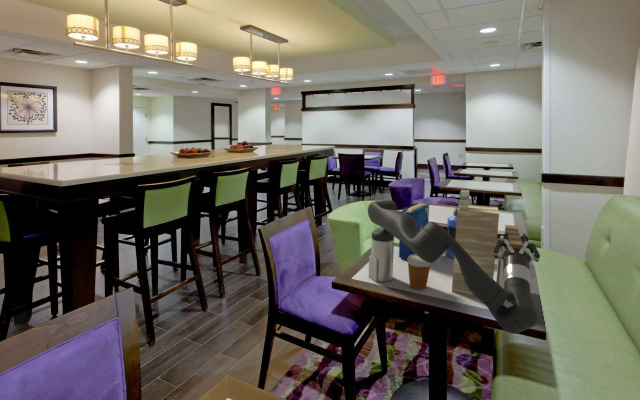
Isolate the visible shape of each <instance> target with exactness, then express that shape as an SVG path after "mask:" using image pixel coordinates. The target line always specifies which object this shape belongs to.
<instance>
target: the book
mask: <svg viewBox="0 0 640 400" xmlns="http://www.w3.org/2000/svg"><path fill="white" fill-rule="evenodd" d="M401 211H402V212H404V213H406V214H408V215H410V216H412V217H413V218H414V219H415V220H416V222H417V225H418V233H419V232H420V231H421V230H422V229H423V227H424V226H425V225H426V224H427V223H429V218H430V214H429V213H430V204H429V203H427V204H425V203H424V202H422V203H419V202H416V203H412V204H411V205H408V206H407V207H404V209H403V210H401ZM398 240H399V239H398ZM398 244H399V245H398V246H399V249H398V250H399V251H398V258H400V259H402V260H405V261H407V259H408V257H409V256H410V255H414V254H415V253H414V252H413V251H412V250H411V249H410V248H409V247H408V246H407V245H406V244H404V243H403V242H401V241H400V240H399V243H398Z"/></svg>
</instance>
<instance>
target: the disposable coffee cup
mask: <svg viewBox="0 0 640 400" xmlns="http://www.w3.org/2000/svg"><path fill="white" fill-rule="evenodd" d="M406 262H407V266H408V277H409V287H410V288H411V289H413V290H420V291H421V290H425V289H426V288H427V285H428V278H429V273H430V269H431V265H432V263H428V262H426V261H424V260H422V259H421V258H420V257H418V256H417V255H416V254H414V255H410V256H409V257H408V259H407V260H406Z"/></svg>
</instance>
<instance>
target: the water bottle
mask: <svg viewBox="0 0 640 400" xmlns="http://www.w3.org/2000/svg"><path fill="white" fill-rule="evenodd" d="M458 208H459V206H456V207H454V209H453V214H452V216H449V217H447V221H446V222H447V224H446V225H447V232H448V233H449V234H450V235H451V236H452V237H453V238H454V239H456V224H457V211H458ZM445 257H446V258H447V257H448V258H447V259H450V258H451V259H450V260H454V254H453V253H452V251H451V250H450V249H449V248H448V249H447V250H446V251H445Z"/></svg>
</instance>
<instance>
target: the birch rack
mask: <svg viewBox="0 0 640 400" xmlns="http://www.w3.org/2000/svg"><path fill="white" fill-rule="evenodd" d="M458 207H459V208H458V211H457V224H456V239H455V240H456V241H457V242H458V243H459V244H460V245H461V247H462V248H463V249H464V250H465V251H466V252H467V253H468V254H469V255H470V256H471V257H472V259H473V260H474V261H475V262H476V263H477V264H478V265H479V266H480V267H481V269H482V270H483V271H484V272H486V273H487V274H488V275H489V276H490V277H491V278H492V279H493V280H494V275H495V266H496V265H495V264H496V263H495V262H496V257H494V256H493V253H494V249H495V247H496V244H497V242H498V241H497V240H498V233H499V232H498V231H499V218H500V213H499V212H500V211H499V207H498V206H489V205H488V206H487V205H474V204H473V205H471V204H470V190H467V189H461V190H460V191H459V204H458ZM452 270H453V271H452V283H451V292H452V293H456V292H457V293H458V294H463V295H468V296H475V295H474V294H473V293H472V292H471V291H470V290H469V289H468V287H467V286H466V284H465V281H464V278H463V275H462V272H461V269H460V266H459V263H458V261H457V259H456V257H455V255H454V259H453V269H452Z"/></svg>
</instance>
